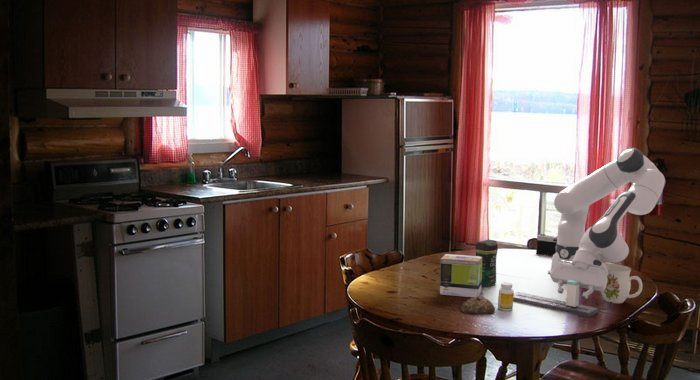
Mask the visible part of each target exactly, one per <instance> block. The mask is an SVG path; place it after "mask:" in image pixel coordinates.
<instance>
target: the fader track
mask: <svg viewBox="0 0 700 380" xmlns="http://www.w3.org/2000/svg"><path fill="white" fill-rule="evenodd" d="M513 302H517V303H521V304H527V305H530V306H535V307H539V306H540V308H544V307H545V308H544V309H548V308H549V309H550V310H554V311H558V312H563V313H568V314H572V315H578V316H581V317H585V316H586V318H590V317H592V316H594V315H595V314H597V313H598V310H599V309H598V307H592V306H588V305H583V304H579V303H578V306H576V307H573V306H568V305H566V300H565V301H563V300H558V299H556V298H555V299H554V298H549V297H544V296H539V295H535V294H530V293H526V292H522V291H521V292H520V291H516V292H514V296H513Z"/></svg>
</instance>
